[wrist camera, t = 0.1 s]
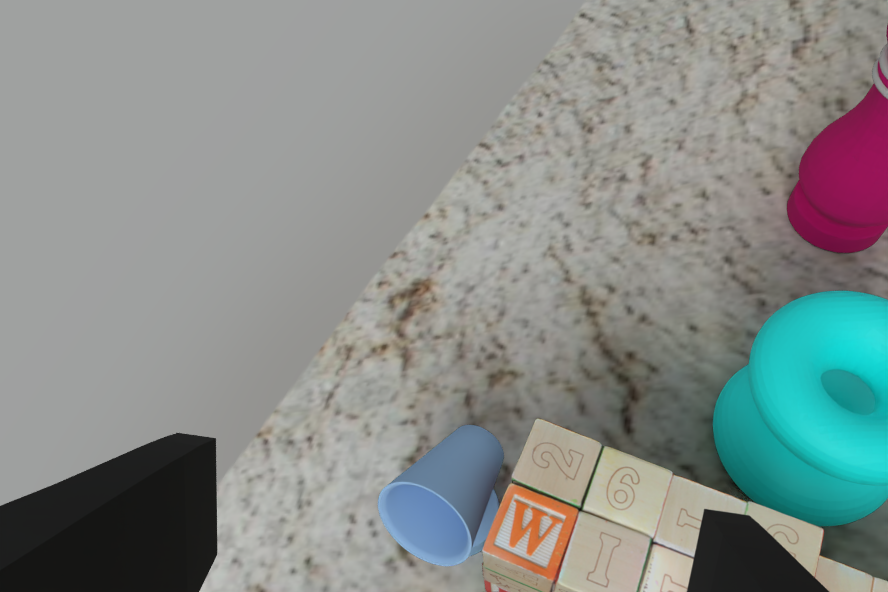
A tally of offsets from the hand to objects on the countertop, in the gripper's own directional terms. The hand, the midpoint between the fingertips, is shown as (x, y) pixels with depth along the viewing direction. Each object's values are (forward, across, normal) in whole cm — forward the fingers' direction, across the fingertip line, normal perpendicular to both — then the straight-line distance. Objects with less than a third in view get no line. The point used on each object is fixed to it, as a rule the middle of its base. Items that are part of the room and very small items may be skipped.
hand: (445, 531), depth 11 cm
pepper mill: (+46, -21, +2) cm, 50 cm away
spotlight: (+28, +2, +18) cm, 33 cm away
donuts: (+33, -17, +14) cm, 39 cm away
